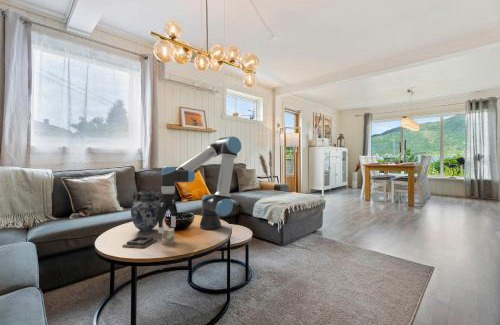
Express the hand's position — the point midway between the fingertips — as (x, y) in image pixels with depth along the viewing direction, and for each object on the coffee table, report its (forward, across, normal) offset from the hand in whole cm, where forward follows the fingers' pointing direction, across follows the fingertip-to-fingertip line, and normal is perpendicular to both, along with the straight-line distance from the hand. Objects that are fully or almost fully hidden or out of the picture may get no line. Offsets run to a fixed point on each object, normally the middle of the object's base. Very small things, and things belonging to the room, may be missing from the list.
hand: (167, 229), depth 139 cm
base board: (+8, +4, -15) cm, 17 cm away
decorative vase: (+8, -17, -25) cm, 31 cm away
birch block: (+8, 0, 0) cm, 8 cm away
